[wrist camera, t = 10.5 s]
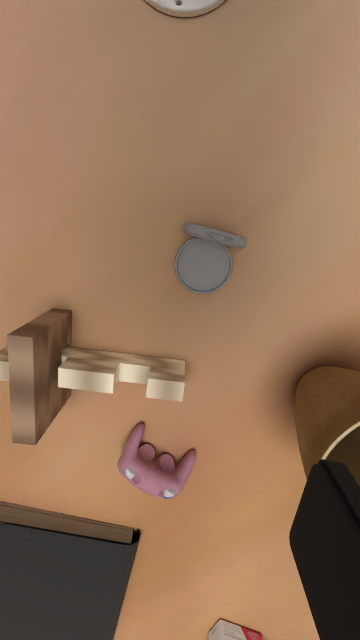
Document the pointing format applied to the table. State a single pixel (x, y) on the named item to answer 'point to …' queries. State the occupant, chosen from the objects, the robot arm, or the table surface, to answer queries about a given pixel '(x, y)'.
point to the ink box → (231, 632)
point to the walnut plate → (37, 374)
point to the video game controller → (153, 468)
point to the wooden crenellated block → (114, 372)
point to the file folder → (61, 575)
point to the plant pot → (329, 417)
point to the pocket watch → (206, 258)
